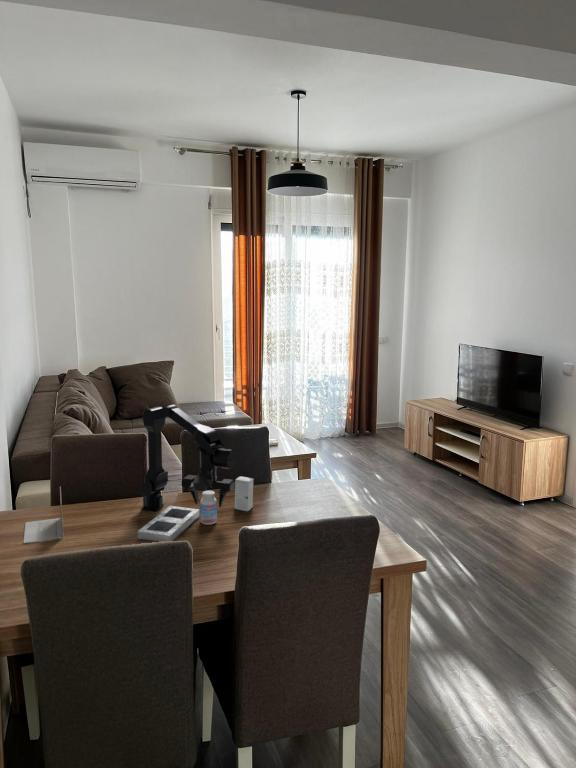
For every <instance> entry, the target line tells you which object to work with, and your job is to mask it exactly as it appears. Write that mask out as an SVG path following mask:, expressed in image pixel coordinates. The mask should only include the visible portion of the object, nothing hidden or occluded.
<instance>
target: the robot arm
mask: <svg viewBox="0 0 576 768" xmlns="http://www.w3.org/2000/svg"><path fill="white" fill-rule="evenodd" d="M166 418H169V419H170V420H172V422H174V423H176V425H178V426H179V427H180V428H183V429H184V430H185V431H186V432H188V434H190V435H191V436H192V439H193V441H194V442H195V443H196V445H198V446H197V447H196V448H195V449H194V451H195V452H197V453H198V452H199V462H200V463H199V468H198V473H197V475H193V474H188V475H186V476H185V477H183V478H182V479H181V487H184V488H185V489H186V490H188V491H189V492H190V494H191V496H192V498H193V500H194V504H195V505H198V504H199V491H202V492H204V491H208V489H209V488H213V487H218V489H219V490H218V494H219V496H218V497H219V499H218V507H219V508H221V507H222V505H223V502H224V500H225V498H226V496H227V494H228V493H229V492H231V491H232V490H233V489H234V488H235V480H234V479H229V478H224V479H222V480H221V481H219V480H218V476H217V469H218V468H222V469H227V470H232V469H234V467H235V466H236V463H237V457H236V454H235V453H234V451H233V449H230V448H229V449H228V448H225V445H224V443H223V441H222V439H221V438H220V436H219V432H218V431H217V430H216V429H214V428H212V427H210V426H208V425H204V424H201V423H199V422H198V421H196V420H195V419H194V418H193V417H191V416H190V415H189V414H187V413H186V412H184V411H183V410H182V409H181V408H180V407H179V406H178V405H176V404H170V405H166V406H165V407H162V406H155V407H151V408H147V409H145V410H144V411H143V412H142V422H143V426H144V428H145V429H146V431H147V439H148V440H147V441H148V442H147V443H148V444H147V446H148V447H147V448H148V469H147V471H146V473H145V474H144V475H145V476H144V482H143V483H144V484H142V486H140V488H138V492H139V494H140V495H141V496H142V502H143V505H142V507H141V510H143V511H150V512H151V511H152V512H157V511H159V510H160V509H161V508H162V507H164V503H163V495H162V491H164V490H165V487H166V486H167V485H168V482H169V477H168V476H169V472H168V471H167V470H165V469H164V467H163V451H162V450H163V447H162V446H163V445H162V430H163V428H164V425H165V424H166Z"/></svg>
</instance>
